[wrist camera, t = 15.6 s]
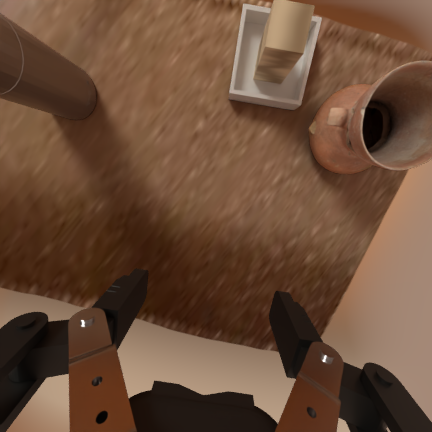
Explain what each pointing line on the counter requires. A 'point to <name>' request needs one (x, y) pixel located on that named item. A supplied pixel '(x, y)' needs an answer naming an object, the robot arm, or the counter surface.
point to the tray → (246, 60)
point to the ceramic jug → (377, 123)
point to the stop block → (282, 40)
